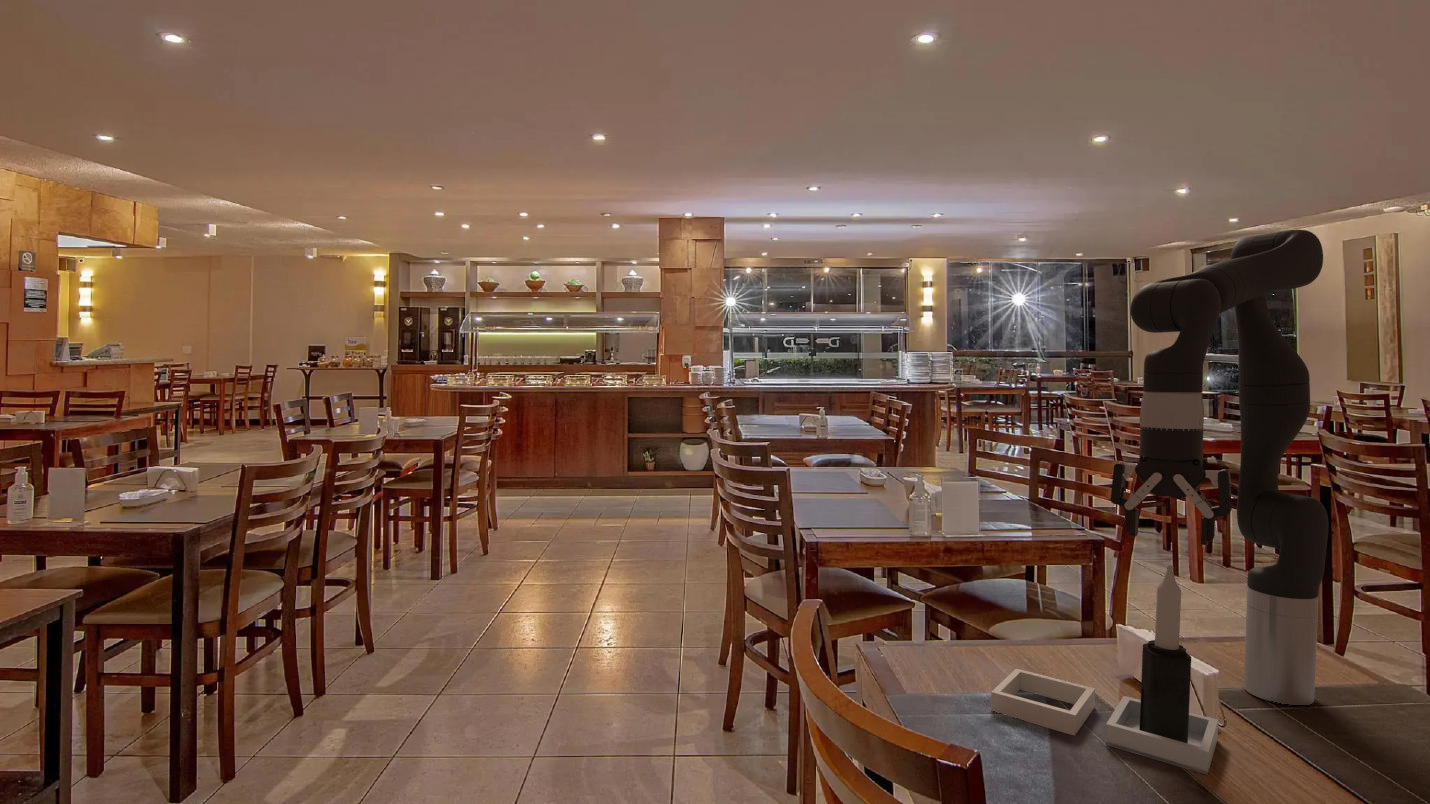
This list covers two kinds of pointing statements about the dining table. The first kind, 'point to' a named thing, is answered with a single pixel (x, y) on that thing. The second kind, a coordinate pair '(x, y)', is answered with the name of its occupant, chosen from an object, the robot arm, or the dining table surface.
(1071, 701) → the grey frame
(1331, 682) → the dining table surface
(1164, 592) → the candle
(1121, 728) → the grey tray
